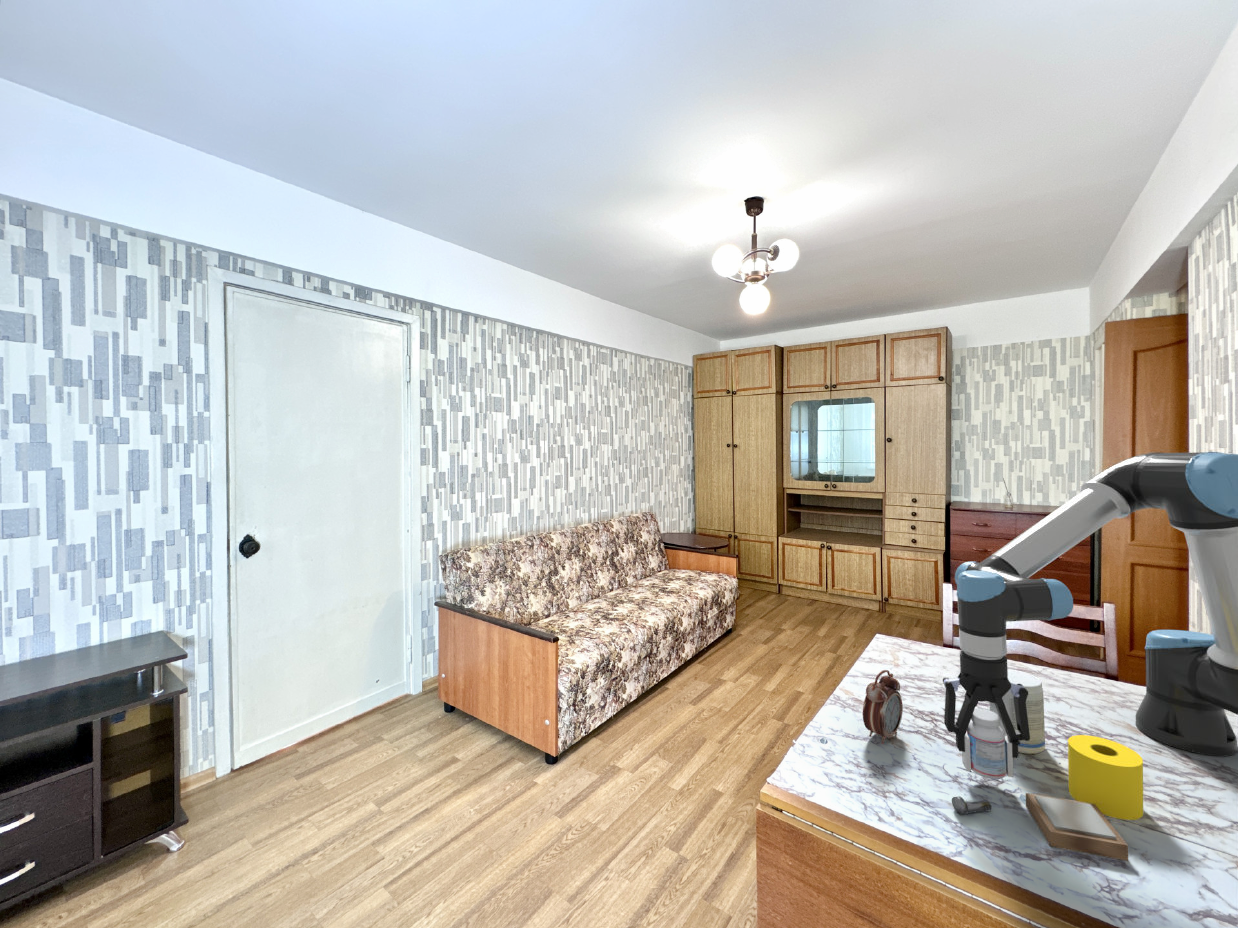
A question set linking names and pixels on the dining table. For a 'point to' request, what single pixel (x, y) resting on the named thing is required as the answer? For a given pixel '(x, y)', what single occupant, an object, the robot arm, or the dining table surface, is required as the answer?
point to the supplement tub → (1033, 711)
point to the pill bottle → (987, 744)
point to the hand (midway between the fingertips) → (987, 769)
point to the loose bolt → (969, 805)
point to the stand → (1076, 826)
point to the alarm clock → (883, 706)
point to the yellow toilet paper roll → (1106, 776)
